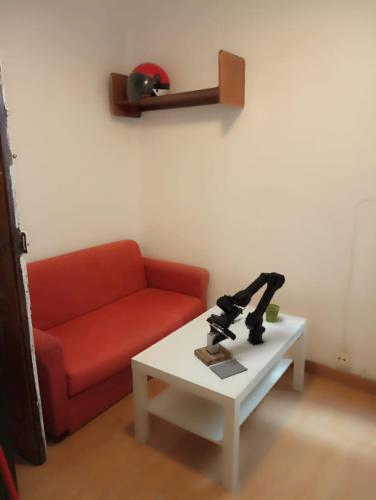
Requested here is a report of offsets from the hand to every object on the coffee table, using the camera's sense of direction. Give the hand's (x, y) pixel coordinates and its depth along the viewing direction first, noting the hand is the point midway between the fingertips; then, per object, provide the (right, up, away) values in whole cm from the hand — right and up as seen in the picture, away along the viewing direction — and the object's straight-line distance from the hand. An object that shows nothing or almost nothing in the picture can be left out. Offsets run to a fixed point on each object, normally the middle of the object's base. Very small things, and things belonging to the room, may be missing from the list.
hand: (210, 342), depth 176 cm
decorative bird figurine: (+17, +2, +40) cm, 43 cm away
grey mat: (+8, -10, -9) cm, 15 cm away
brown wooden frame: (+1, -7, +3) cm, 8 cm away
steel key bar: (+1, -6, +2) cm, 7 cm away
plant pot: (+38, +3, +40) cm, 55 cm away
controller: (+13, +6, +52) cm, 54 cm away
